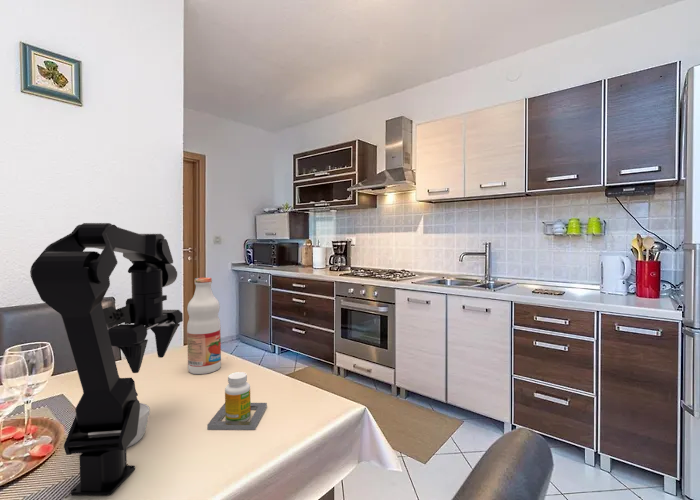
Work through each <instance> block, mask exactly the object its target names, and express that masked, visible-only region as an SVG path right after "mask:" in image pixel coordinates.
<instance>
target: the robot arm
mask: <svg viewBox="0 0 700 500" xmlns="http://www.w3.org/2000/svg"><path fill="white" fill-rule="evenodd" d="M85 249H98V250H99V249H100V250H102V251H101V252H99V251H92V250H91V251H88V250H87V251H85ZM115 253H122V257H123V258H124V259H127V260H129V261H130V262H131V263H132V265H130V267H129V268H128V270H127V273H129V274H131V275H130V277H131V278H130V280H131V282H130V284H131V297H130V298H127V299H126V300H125V306H123V307H120V308H119V307H118V308H115V307H114V306H108V307H106V308H103V304H102V302H103V299H104V298H105V296H106V293H107V292H108V290H109V288H110V286H111V280H110V276H111V275H112V273H113V272H114V269H116V267H117V265H118V259H117V256H116V254H115ZM173 264H174V260H173V256H172V253H171V248H170V245H169V242H168V239H166V238H165V236H164V235H163V234H162V233H138V232H134V231H131V230H127V229H125V228H121V227H118V226H117V225H115V224H112V223H110V222H83V223H82V224H78V225H76V226H75V228H74V229H73V230H72V232H70V233H68V234H67V235H65V236H63V237H62V238H59V239H57V240H56V241H53V242H52V243H50V244H48V245H47V246H46V248H44V250H43V251H42V252H41V254H39V256H38V257H36V259H35V260H34V262H33V263H32V265H31V267H30V278H31V281H32V284H33V285H34V288H35V290H36V292H37V294H38V296H39V298H40V300H41V301H42V302H43V303H45V304H47V306H49V307H50V308H51V309H53V310H54V311H55V312H56V313H58V314H59V315H60V316H61V320H62V324H63V326H64V330H65V334H66V337H67V341H68V344H69V347H70V350H71V354H72V357H73V361H74V364H75V368H76V371H77V374H78V378H79V381H80V386H81V389H82V392H83V393H82V395H81V398H80V399H79V401H78V403H77V405H76V406H75V417H74V418H73V422H72V424H71V427H70V430H69V431H68V434H67V435H66V439H65V440H64V444H63V448H64V449H63V450H64V451H65V454H66V456H70V455H71V456H72V455H77V454H79V456H78V458H79V459H78V460H79V461H78V462H79V482H78V484H76V485H75V486H74V487H73V488H72V489H70V495H75V496H76V495H78V496H80V495H81V496H88V495H89V496H109V495H111V494H114V492H115V491H116V489H117V488H119V487H120V486H121V484H122V483H123V482H124V481H126V479H127V478H128V477H129V476H130V475H131V474H132V473H133V472H134V471H135V470H136V466H135V465H127V464H128V463H127V462H128V461H127V458H128V457H127V448H128V447H127V446H128V445H129V444H130V443H131V441H132V440H133V439H134V438H135V437H136V435H137V429H138V421H139V413H140V403H141V402H140V400H139V399H138V395H139V393H138V392H137V390H136V383H135V380H134V378H132V377H120V376H119V372H118V367H117V363H116V357H115V355H114V351H113V347H116V348H118V349H119V350H120V351H121V352H122V353H123V355H124V357H125V360H126V362H127V364H128V365H129V368H130V371H131V372H132V373H133V374H138V373H139V372H140V370H141V367H142V363H143V360H144V356H145V351H146V348H147V345H148V341H149V340H148V339H146V338H147V336H148V330H150V331H152V333H154V338H155V346H156V353H157V357H158V358H160V359H161V358H162V359H163V357H165V355H166V352H167V350H168V348H169V346H170V344H171V342H172V340H173V338H174V336H175V334H176V332H177V331H178V330H177V329H178V328H179V327H180V323H182V322H183V320H184V317H183V316H184V315H183V314H184V313H183V312H182V311H181V310H180V309H164V305H163V303H164V301H167V300H168V299H167V298H168V296H167V294H165V295H164V294H163V293H164V292H163V288H165V287H168V286H170V285H173V283H175V282H176V280H177V278H178V271H177V268H176V267H175V266H174V265H173ZM119 430H122V431H121V433H108V434H95V435H88V433H93V432H106V431H119Z"/></svg>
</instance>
